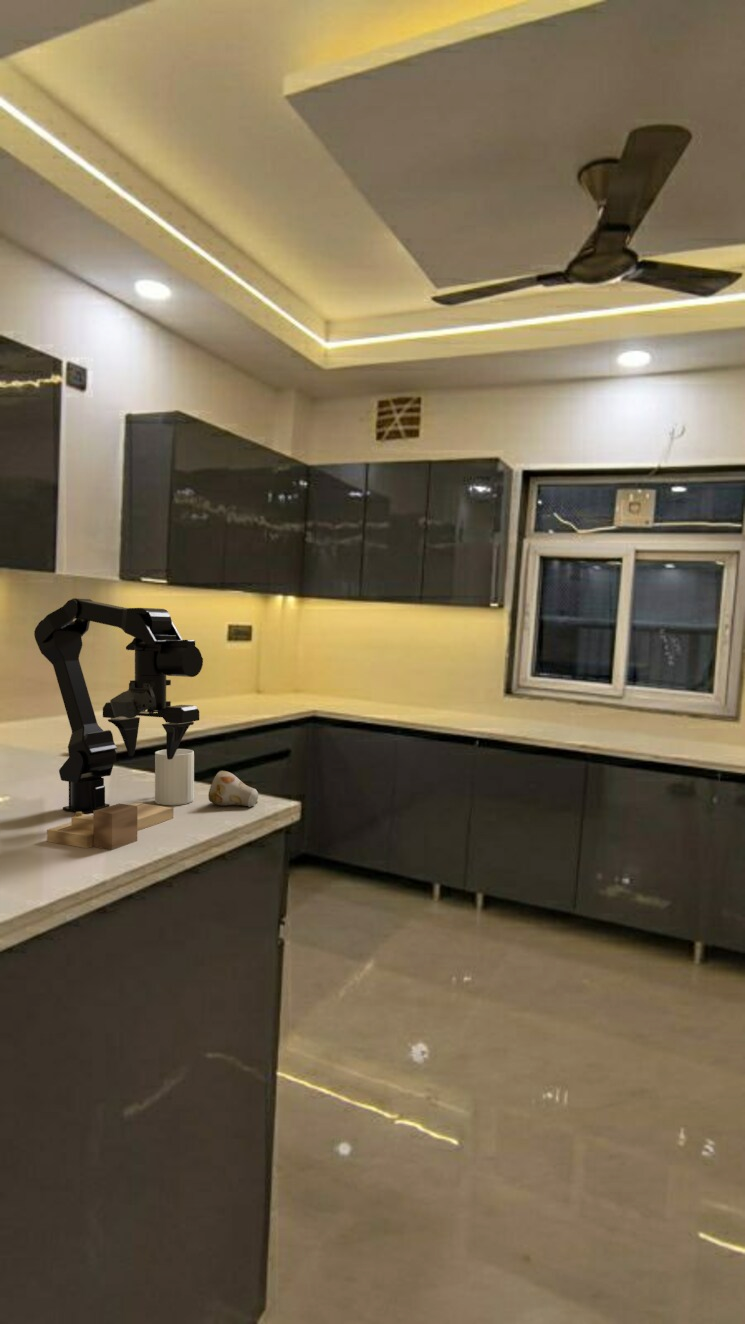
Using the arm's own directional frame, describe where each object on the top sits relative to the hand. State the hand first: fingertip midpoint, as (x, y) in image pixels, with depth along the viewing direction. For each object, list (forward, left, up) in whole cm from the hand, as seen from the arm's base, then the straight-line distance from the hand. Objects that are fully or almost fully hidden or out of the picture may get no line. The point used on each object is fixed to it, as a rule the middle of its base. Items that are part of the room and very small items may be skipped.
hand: (150, 757), depth 141 cm
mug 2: (-7, +16, -12) cm, 21 cm away
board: (-1, -8, -12) cm, 14 cm away
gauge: (+2, -15, -12) cm, 19 cm away
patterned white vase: (+7, +17, -12) cm, 23 cm away
